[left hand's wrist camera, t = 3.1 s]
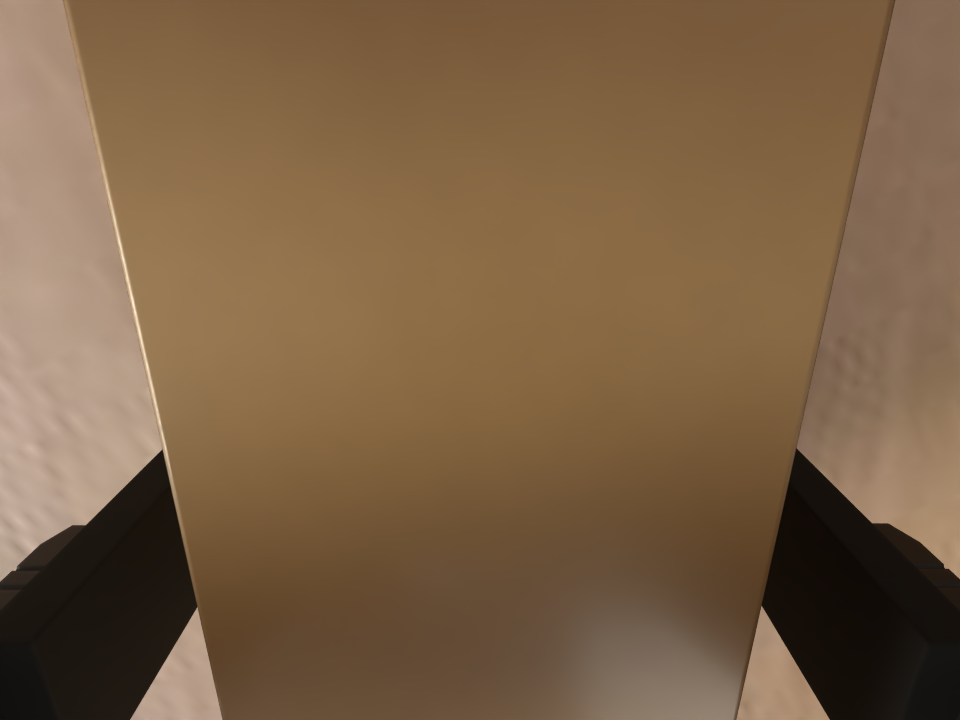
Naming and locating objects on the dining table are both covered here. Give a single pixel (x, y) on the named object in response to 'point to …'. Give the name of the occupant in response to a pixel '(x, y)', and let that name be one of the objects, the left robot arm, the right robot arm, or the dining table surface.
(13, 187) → the dining table surface
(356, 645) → the bar
